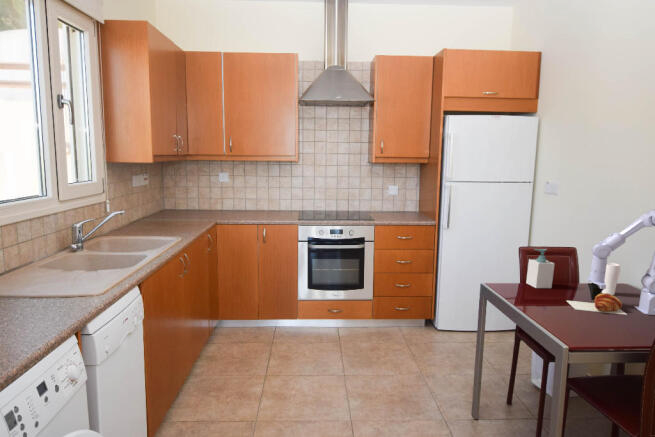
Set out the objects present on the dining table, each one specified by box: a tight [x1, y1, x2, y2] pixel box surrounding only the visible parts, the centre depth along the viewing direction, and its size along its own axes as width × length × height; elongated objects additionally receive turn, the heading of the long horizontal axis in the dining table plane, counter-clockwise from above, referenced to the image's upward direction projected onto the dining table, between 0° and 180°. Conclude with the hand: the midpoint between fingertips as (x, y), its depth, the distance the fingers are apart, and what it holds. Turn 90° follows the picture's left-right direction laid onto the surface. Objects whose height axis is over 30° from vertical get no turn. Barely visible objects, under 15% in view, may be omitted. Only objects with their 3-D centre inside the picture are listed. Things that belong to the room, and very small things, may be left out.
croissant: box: [593, 293, 623, 312], centre depth 190 cm, size 21×10×8 cm, turn 130°
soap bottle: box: [525, 248, 555, 289], centre depth 220 cm, size 9×9×19 cm
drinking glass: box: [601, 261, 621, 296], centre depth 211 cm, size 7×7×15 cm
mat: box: [565, 300, 628, 316], centre depth 191 cm, size 12×20×1 cm, turn 79°
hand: (594, 300), depth 196 cm, fingers closed
